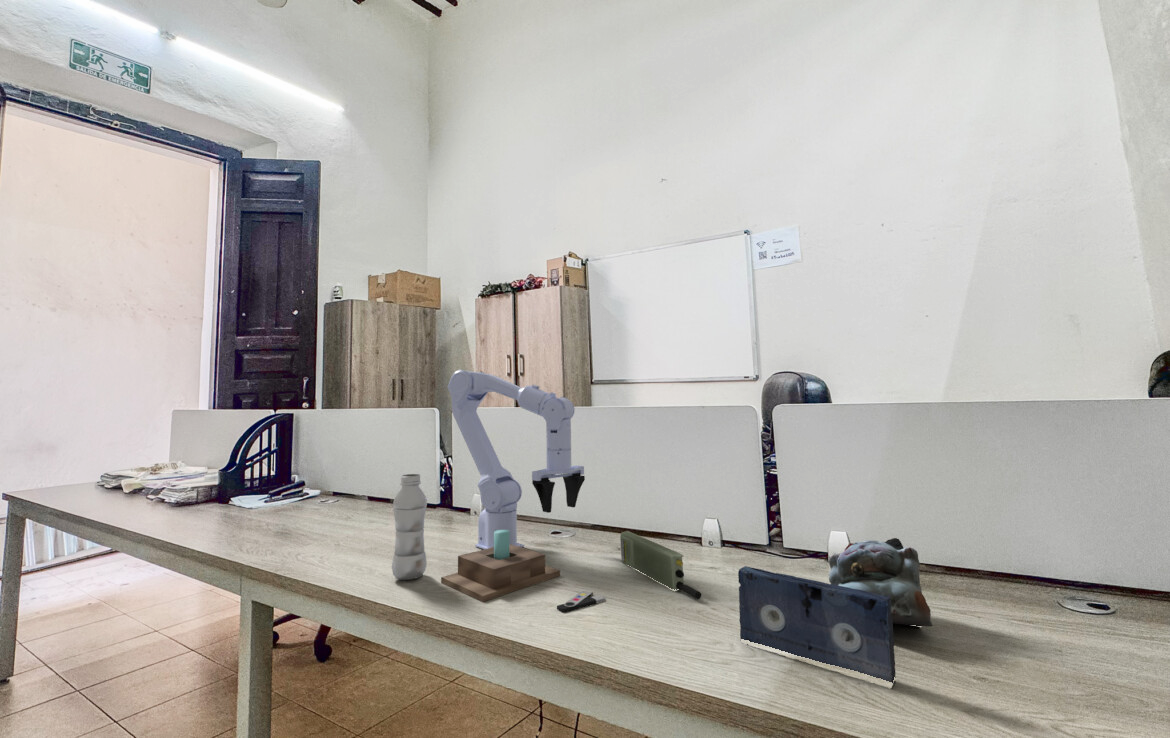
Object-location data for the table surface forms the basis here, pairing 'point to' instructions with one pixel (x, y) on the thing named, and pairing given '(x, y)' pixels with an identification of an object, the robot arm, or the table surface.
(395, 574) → the plastic bottle
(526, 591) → the table surface
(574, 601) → the usb flash drive
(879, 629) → the vhs cassette tape
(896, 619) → the lucky cat figurine
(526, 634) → the table surface
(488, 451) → the robot arm
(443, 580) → the socket board
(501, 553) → the peg
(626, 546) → the handheld radio
